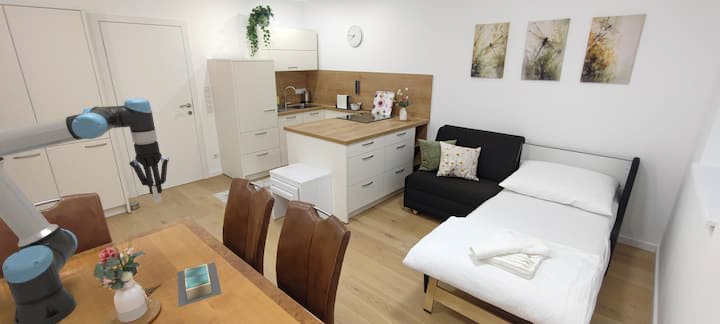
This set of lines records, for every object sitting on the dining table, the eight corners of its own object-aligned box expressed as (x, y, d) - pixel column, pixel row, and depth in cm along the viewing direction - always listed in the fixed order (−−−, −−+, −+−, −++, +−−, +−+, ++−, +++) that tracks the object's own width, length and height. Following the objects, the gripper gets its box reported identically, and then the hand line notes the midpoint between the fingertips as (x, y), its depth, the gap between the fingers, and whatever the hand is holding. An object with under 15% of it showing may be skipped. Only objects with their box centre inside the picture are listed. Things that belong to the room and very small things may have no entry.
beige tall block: (186, 278, 128) (187, 300, 117) (184, 268, 127) (185, 290, 115) (208, 271, 132) (212, 292, 120) (206, 262, 131) (210, 282, 119)
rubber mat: (178, 308, 114) (178, 307, 113) (177, 274, 132) (177, 272, 132) (221, 295, 120) (221, 293, 120) (215, 263, 138) (214, 262, 138)
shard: (162, 286, 125) (161, 282, 125) (164, 298, 119) (163, 294, 119) (128, 298, 120) (127, 294, 119) (128, 310, 114) (127, 306, 113)
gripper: (168, 138, 124) (179, 195, 132) (129, 140, 121) (142, 198, 129) (162, 143, 118) (173, 203, 125) (120, 145, 115) (135, 206, 122)
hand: (158, 200), depth 127 cm, fingers closed
